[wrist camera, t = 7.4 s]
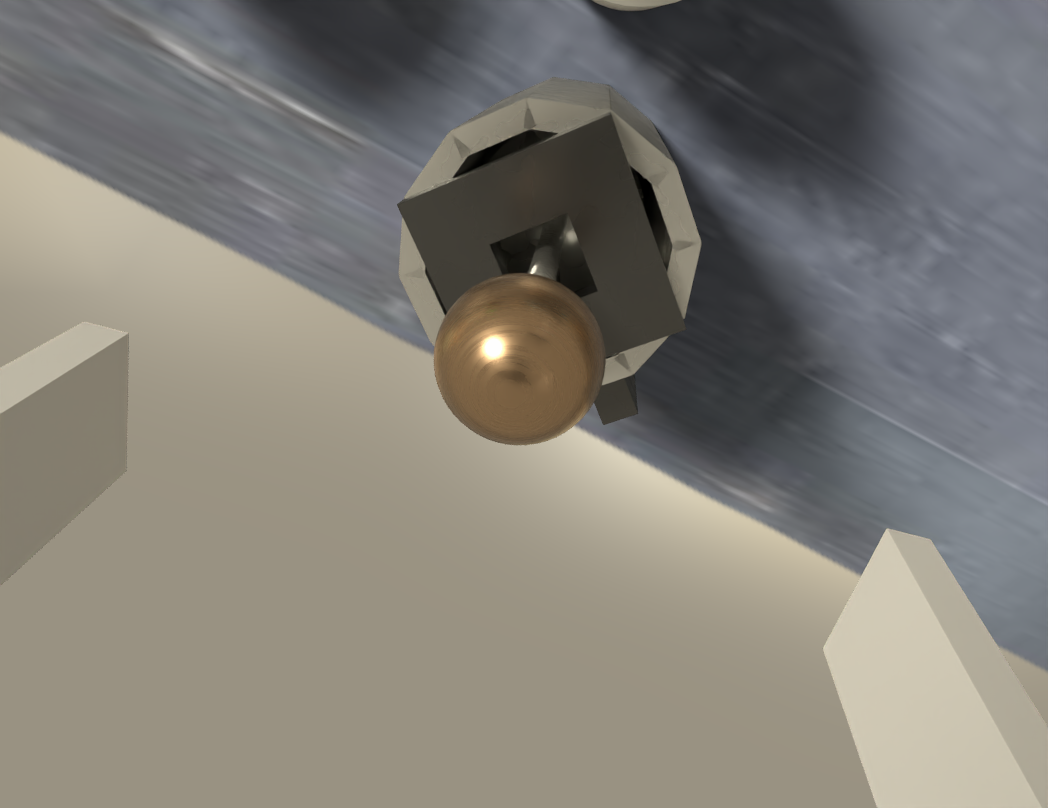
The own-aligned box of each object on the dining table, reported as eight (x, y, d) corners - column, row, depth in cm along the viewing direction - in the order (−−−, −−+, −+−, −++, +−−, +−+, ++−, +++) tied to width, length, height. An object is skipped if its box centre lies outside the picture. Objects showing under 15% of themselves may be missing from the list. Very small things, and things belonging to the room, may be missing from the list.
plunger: (609, 94, 35) (614, 162, 16) (667, 261, 38) (730, 485, 19) (446, 164, 37) (279, 298, 18) (513, 318, 40) (429, 574, 21)
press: (626, 44, 41) (639, 49, 25) (707, 288, 46) (759, 416, 30) (435, 129, 44) (340, 180, 28) (530, 350, 48) (495, 499, 33)
